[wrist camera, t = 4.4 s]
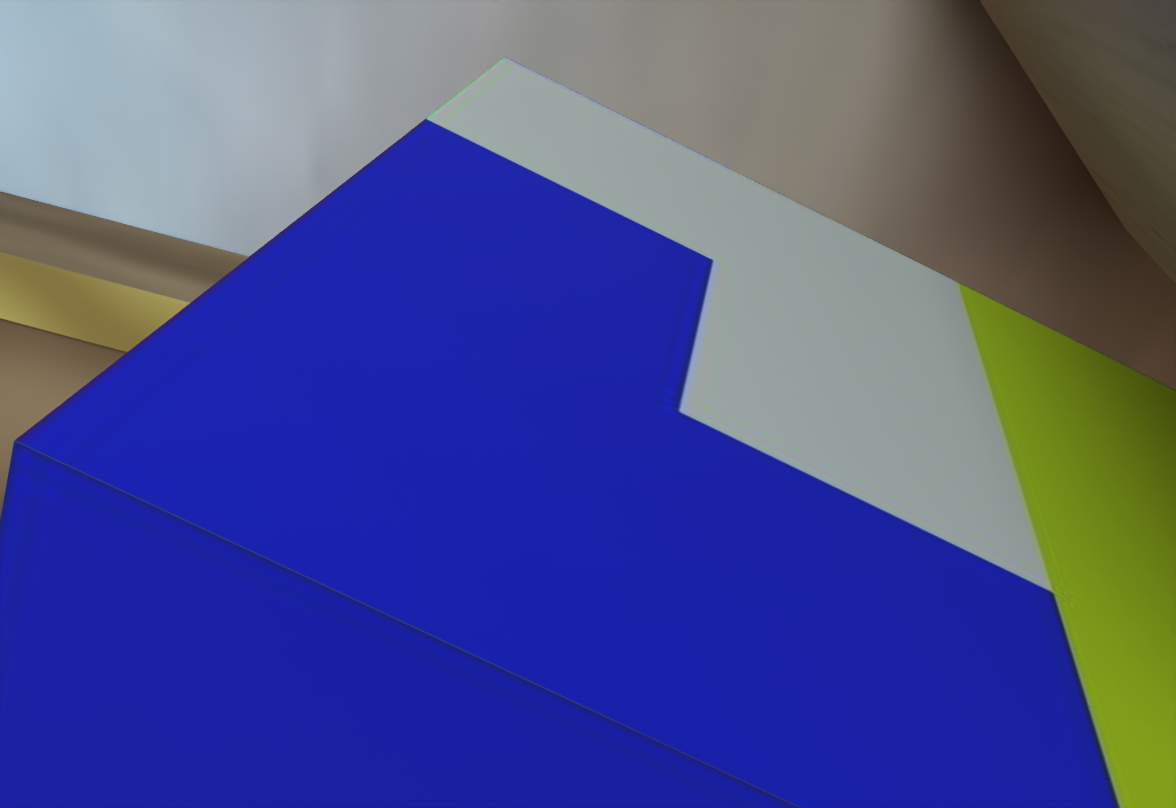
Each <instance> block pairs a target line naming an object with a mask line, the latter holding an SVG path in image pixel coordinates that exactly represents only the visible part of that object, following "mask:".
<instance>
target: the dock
mask: <svg viewBox="0 0 1176 808" xmlns="http://www.w3.org/2000/svg"><path fill="white" fill-rule="evenodd" d="M247 258H248V257H247V256H243V255H239V254H236V253H232V252H228V251H224V250H220V249H217V248H213V247H209V246H205V245H201V244H198V243H194V242H190V241H186V240H182V239H179V238H175V237H171V236H167V235H163V234H160V233H156V232H152V231H148V230H144V229H141V228H137V227H133V226H129V225H125V224H122V223H118V222H114V221H110V220H107V219H103V218H99V217H95V216H91V215H88V214H84V213H80V212H76V211H72V210H69V209H65V208H61V207H57V206H53V205H50V204H46V203H42V202H38V201H34V200H31V199H27V198H23V197H19V196H15V195H12V194H8V193H4V192H0V518H1V512H2V507H3V501H4V495H5V489H6V484H7V478H8V472H9V466H10V461H11V455H12V449H13V444H14V440H16V439H17V438H18V437H19V436H21V435H22V434H23V433H25V432H26V431H27V430H28V429H30V428H31V427H32V426H34V425H35V424H36V423H37V422H39V421H40V420H41V419H42V418H44V417H45V416H46V415H48V414H49V413H50V412H51V411H53V410H54V409H55V408H57V407H58V406H59V405H60V404H62V403H63V402H64V401H65V400H67V399H68V398H69V397H71V396H72V395H73V394H74V393H76V392H77V391H78V390H80V389H81V388H82V387H83V386H85V385H86V384H87V383H89V382H90V381H91V380H92V379H94V378H95V377H96V376H97V375H99V374H100V373H101V372H103V371H104V370H105V369H106V368H108V367H109V366H110V365H112V364H113V363H114V362H115V361H117V360H118V359H119V358H121V357H122V356H123V355H124V354H126V353H127V352H128V351H129V350H131V349H132V348H133V347H135V346H136V345H137V344H138V343H140V342H141V341H142V340H144V339H145V338H146V337H147V336H149V335H150V334H151V333H152V332H154V331H155V330H156V329H158V328H159V327H160V326H161V325H163V324H164V323H165V322H167V321H168V320H169V319H170V318H172V317H173V316H174V315H176V314H177V313H178V312H179V311H181V310H182V309H183V308H184V307H186V306H187V305H188V304H190V303H191V302H192V301H193V300H195V299H196V298H197V297H199V296H200V295H201V294H202V293H204V292H205V291H206V290H207V289H209V288H210V287H211V286H213V285H214V284H215V283H216V282H218V281H219V280H220V279H222V278H223V277H224V276H225V275H227V274H228V273H229V272H231V271H232V270H233V269H234V268H236V267H237V266H238V265H239V264H241V263H242V262H243V261H245V260H246V259H247Z"/></svg>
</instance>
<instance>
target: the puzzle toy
mask: <svg viewBox="0 0 1176 808" xmlns="http://www.w3.org/2000/svg"><path fill="white" fill-rule="evenodd" d="M0 808H1176V390H1174V389H1172V388H1170V387H1168V386H1166V385H1164V384H1162V383H1160V382H1158V381H1156V380H1154V379H1152V378H1150V377H1148V376H1146V375H1144V374H1142V373H1140V372H1138V371H1136V370H1134V369H1132V368H1130V367H1128V366H1126V365H1124V364H1122V363H1120V362H1118V361H1116V360H1114V359H1112V358H1110V357H1108V356H1106V355H1104V354H1102V353H1100V352H1098V351H1096V350H1094V349H1092V348H1090V347H1088V346H1086V345H1084V344H1082V343H1080V342H1078V341H1076V340H1074V339H1072V338H1069V337H1067V336H1065V335H1063V334H1061V333H1059V332H1057V331H1055V330H1053V329H1051V328H1049V327H1047V326H1045V325H1043V324H1041V323H1039V322H1037V321H1035V320H1033V319H1031V318H1029V317H1027V316H1025V315H1023V314H1021V313H1019V312H1017V311H1015V310H1013V309H1011V308H1009V307H1007V306H1005V305H1003V304H1001V303H999V302H997V301H995V300H993V299H991V298H989V297H987V296H985V295H983V294H981V293H979V292H977V291H975V290H973V289H971V288H969V287H967V286H965V285H963V284H961V283H959V282H957V281H955V280H953V279H951V278H949V277H947V276H945V275H943V274H941V273H939V272H937V271H935V270H933V269H931V268H929V267H927V266H925V265H923V264H921V263H919V262H917V261H915V260H913V259H910V258H908V257H906V256H904V255H902V254H900V253H898V252H896V251H894V250H892V249H890V248H888V247H886V246H884V245H882V244H880V243H878V242H876V241H874V240H872V239H870V238H868V237H866V236H864V235H862V234H860V233H858V232H856V231H854V230H852V229H850V228H848V227H846V226H844V225H842V224H840V223H838V222H836V221H834V220H832V219H830V218H828V217H826V216H824V215H822V214H820V213H818V212H816V211H814V210H812V209H810V208H808V207H806V206H804V205H802V204H800V203H798V202H796V201H794V200H792V199H790V198H788V197H786V196H784V195H782V194H780V193H778V192H776V191H774V190H772V189H770V188H768V187H766V186H764V185H762V184H760V183H758V182H756V181H754V180H751V179H749V178H747V177H745V176H743V175H741V174H739V173H737V172H735V171H733V170H731V169H729V168H727V167H725V166H723V165H721V164H719V163H717V162H715V161H713V160H711V159H709V158H707V157H705V156H703V155H701V154H699V153H697V152H695V151H693V150H691V149H689V148H687V147H685V146H683V145H681V144H679V143H677V142H675V141H673V140H671V139H669V138H667V137H665V136H663V135H661V134H659V133H657V132H655V131H653V130H651V129H649V128H647V127H645V126H643V125H641V124H639V123H637V122H635V121H633V120H631V119H629V118H627V117H625V116H623V115H621V114H619V113H617V112H615V111H613V110H611V109H609V108H607V107H605V106H603V105H601V104H599V103H597V102H595V101H592V100H590V99H588V98H586V97H584V96H582V95H580V94H578V93H576V92H574V91H572V90H570V89H568V88H566V87H564V86H562V85H560V84H558V83H556V82H554V81H552V80H550V79H548V78H546V77H544V76H542V75H540V74H538V73H536V72H534V71H532V70H530V69H528V68H526V67H524V66H522V65H520V64H518V63H516V62H514V61H512V60H510V59H508V58H506V57H504V58H503V59H502V60H500V61H499V62H498V63H497V64H495V65H494V66H493V67H492V68H490V69H489V70H488V71H486V72H485V73H484V74H483V75H481V76H480V77H479V78H477V79H476V80H475V81H474V82H472V83H471V84H470V85H468V86H467V87H466V88H465V89H463V90H462V91H461V92H460V93H458V94H457V95H456V96H454V97H453V98H452V99H451V100H449V101H448V102H447V103H445V104H444V105H443V106H442V107H440V108H439V109H438V110H436V111H435V112H434V113H433V114H431V115H430V116H429V117H428V118H426V119H425V120H424V121H422V122H421V123H420V124H419V125H417V126H416V127H415V128H413V129H412V130H411V131H410V132H408V133H407V134H406V135H405V136H403V137H402V138H401V139H399V140H398V141H397V142H396V143H394V144H393V145H392V146H390V147H389V148H388V149H387V150H385V151H384V152H383V153H381V154H380V155H379V156H378V157H376V158H375V159H374V160H373V161H371V162H370V163H369V164H367V165H366V166H365V167H364V168H362V169H361V170H360V171H358V172H357V173H356V174H355V175H353V176H352V177H351V178H350V179H348V180H347V181H346V182H344V183H343V184H342V185H341V186H339V187H338V188H337V189H335V190H334V191H333V192H332V193H330V194H329V195H328V196H326V197H325V198H324V199H323V200H321V201H320V202H319V203H318V204H316V205H315V206H314V207H312V208H311V209H310V210H309V211H307V212H306V213H305V214H303V215H302V216H301V217H300V218H298V219H297V220H296V221H294V222H293V223H292V224H291V225H289V226H288V227H287V228H286V229H284V230H283V231H282V232H280V233H279V234H278V235H277V236H275V237H274V238H273V239H271V240H270V241H269V242H268V243H266V244H265V245H264V246H263V247H261V248H260V249H259V250H257V251H256V252H255V253H254V254H252V255H251V256H250V257H248V258H247V259H246V260H245V261H243V262H242V263H241V264H239V265H238V266H237V267H236V268H234V269H233V270H232V271H231V272H229V273H228V274H227V275H225V276H224V277H223V278H222V279H220V280H219V281H218V282H216V283H215V284H214V285H213V286H211V287H210V288H209V289H207V290H206V291H205V292H204V293H202V294H201V295H200V296H199V297H197V298H196V299H195V300H193V301H192V302H191V303H190V304H188V305H187V306H186V307H184V308H183V309H182V310H181V311H179V312H178V313H177V314H176V315H174V316H173V317H172V318H170V319H169V320H168V321H167V322H165V323H164V324H163V325H161V326H160V327H159V328H158V329H156V330H155V331H154V332H152V333H151V334H150V335H149V336H147V337H146V338H145V339H144V340H142V341H141V342H140V343H138V344H137V345H136V346H135V347H133V348H132V349H131V350H129V351H128V352H127V353H126V354H124V355H123V356H122V357H121V358H119V359H118V360H117V361H115V362H114V363H113V364H112V365H110V366H109V367H108V368H106V369H105V370H104V371H103V372H101V373H100V374H99V375H97V376H96V377H95V378H94V379H92V380H91V381H90V382H89V383H87V384H86V385H85V386H83V387H82V388H81V389H80V390H78V391H77V392H76V393H74V394H73V395H72V396H71V397H69V398H68V399H67V400H65V401H64V402H63V403H62V404H60V405H59V406H58V407H57V408H55V409H54V410H53V411H51V412H50V413H49V414H48V415H46V416H45V417H44V418H42V419H41V420H40V421H39V422H37V423H36V424H35V425H34V426H32V427H31V428H30V429H28V430H27V431H26V432H25V433H23V434H22V435H21V436H19V437H18V438H17V439H16V440H14V444H13V449H12V455H11V461H10V466H9V472H8V478H7V484H6V489H5V495H4V501H3V507H2V512H1V518H0Z"/></svg>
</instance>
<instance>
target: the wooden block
mask: <svg viewBox="0 0 1176 808" xmlns="http://www.w3.org/2000/svg"><path fill="white" fill-rule="evenodd" d="M980 2H981V3H982V5H983V6H984V8H985V9H986V11H987V13H988V14H989V16H990V17H991V19H992V20H993V22H994V24H995V25H996V27H997V28H998V30H999V31H1000V33H1001V35H1002V36H1003V38H1004V39H1005V41H1006V42H1007V44H1008V46H1009V47H1010V49H1011V50H1012V52H1013V53H1014V55H1015V57H1016V58H1017V60H1018V61H1019V63H1020V64H1021V66H1022V68H1023V69H1024V71H1025V72H1026V74H1027V75H1028V77H1029V79H1030V80H1031V82H1032V83H1033V85H1034V86H1035V88H1036V90H1037V91H1038V93H1039V94H1040V96H1041V97H1042V99H1043V101H1044V102H1045V104H1046V105H1047V107H1048V108H1049V110H1050V112H1051V113H1052V115H1053V116H1054V118H1055V119H1056V121H1057V123H1058V124H1059V126H1060V127H1061V129H1062V130H1063V132H1064V134H1065V135H1066V137H1067V138H1068V140H1069V141H1070V143H1071V145H1072V146H1073V148H1074V149H1075V151H1076V152H1077V154H1078V156H1079V157H1080V159H1081V160H1082V162H1083V163H1084V165H1085V167H1086V168H1087V170H1088V171H1089V173H1090V174H1091V176H1092V178H1093V179H1094V181H1095V182H1096V184H1097V185H1098V187H1099V189H1100V190H1101V192H1102V193H1103V195H1104V196H1105V198H1106V200H1107V201H1108V203H1109V204H1110V206H1111V207H1112V209H1113V210H1114V212H1115V214H1116V215H1117V217H1118V218H1119V220H1120V221H1121V223H1122V225H1123V226H1124V228H1125V229H1126V230H1127V231H1128V233H1129V234H1130V235H1131V236H1132V237H1133V238H1134V239H1135V240H1136V241H1137V243H1138V244H1139V245H1140V246H1141V247H1142V248H1143V249H1144V250H1145V251H1146V252H1147V254H1148V255H1149V256H1150V257H1151V258H1152V259H1153V260H1154V261H1155V262H1156V264H1157V265H1158V266H1159V267H1160V268H1161V269H1162V270H1163V271H1164V272H1165V273H1166V275H1167V276H1168V277H1169V278H1170V279H1171V280H1172V281H1173V282H1174V283H1175V285H1176V0H980Z"/></svg>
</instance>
